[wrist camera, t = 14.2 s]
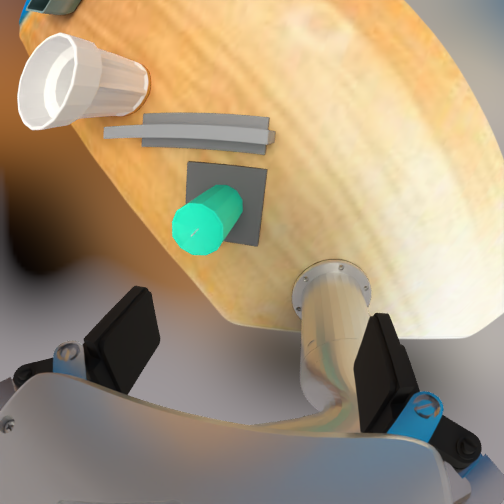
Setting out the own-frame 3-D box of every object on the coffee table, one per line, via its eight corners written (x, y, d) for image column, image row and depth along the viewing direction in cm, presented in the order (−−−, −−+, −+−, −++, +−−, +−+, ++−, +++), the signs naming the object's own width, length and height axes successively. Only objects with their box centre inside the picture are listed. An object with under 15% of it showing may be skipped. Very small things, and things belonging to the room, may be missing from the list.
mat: (258, 244, 40) (257, 246, 40) (187, 233, 42) (185, 235, 41) (267, 169, 36) (266, 170, 35) (189, 161, 37) (187, 161, 36)
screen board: (272, 155, 35) (265, 161, 27) (139, 146, 37) (103, 152, 29) (277, 118, 33) (270, 113, 25) (141, 114, 35) (104, 113, 27)
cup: (89, 99, 34) (8, 101, 19) (128, 44, 30) (50, 20, 14) (127, 136, 37) (42, 150, 21) (172, 79, 32) (94, 56, 16)
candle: (248, 190, 37) (226, 216, 26) (237, 230, 39) (213, 270, 28) (206, 179, 37) (169, 200, 26) (198, 219, 39) (161, 252, 29)
